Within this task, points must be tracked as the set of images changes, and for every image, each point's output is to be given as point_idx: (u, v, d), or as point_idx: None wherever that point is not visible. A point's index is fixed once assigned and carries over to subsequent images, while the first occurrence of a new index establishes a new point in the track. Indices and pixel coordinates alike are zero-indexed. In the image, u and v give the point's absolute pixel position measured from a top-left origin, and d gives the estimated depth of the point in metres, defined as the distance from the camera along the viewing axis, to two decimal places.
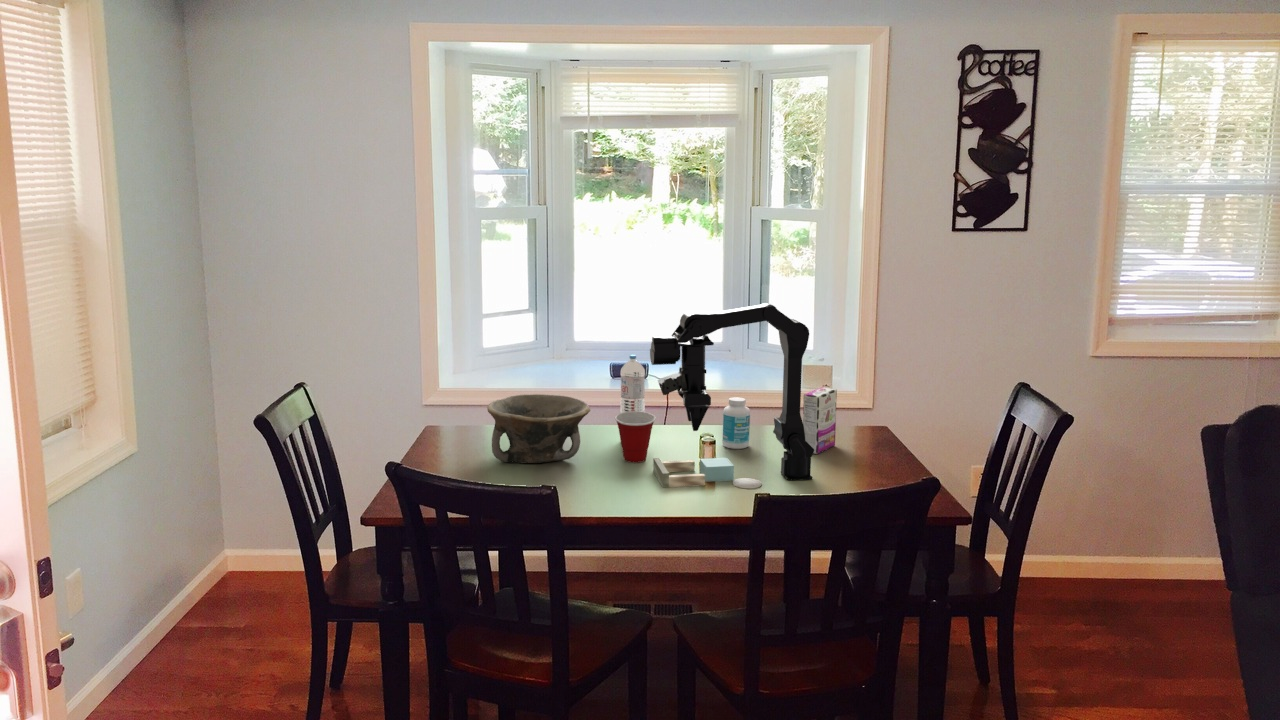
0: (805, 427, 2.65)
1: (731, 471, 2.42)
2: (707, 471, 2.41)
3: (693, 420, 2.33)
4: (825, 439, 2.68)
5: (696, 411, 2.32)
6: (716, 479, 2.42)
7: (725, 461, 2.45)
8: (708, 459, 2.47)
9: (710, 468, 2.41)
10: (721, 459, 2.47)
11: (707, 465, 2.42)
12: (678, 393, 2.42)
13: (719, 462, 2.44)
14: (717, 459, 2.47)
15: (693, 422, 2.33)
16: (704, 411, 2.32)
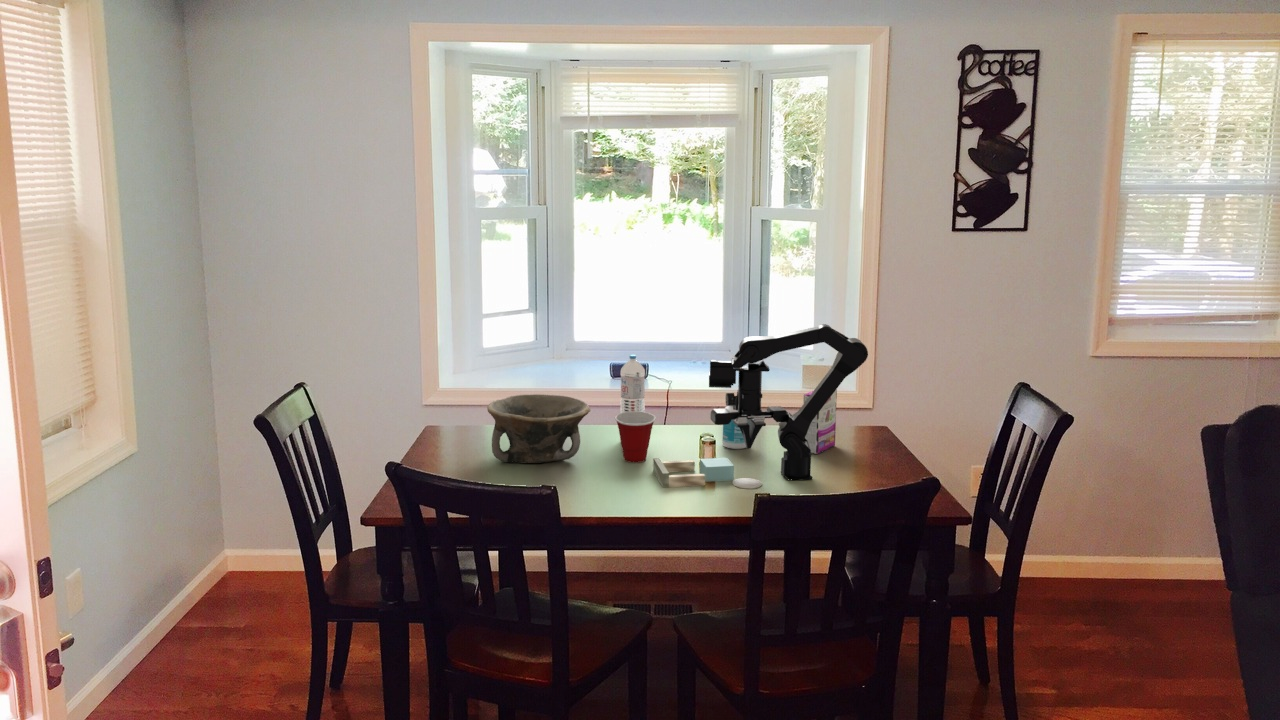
0: None
1: (731, 471, 2.42)
2: (707, 471, 2.41)
3: (743, 436, 2.45)
4: (825, 439, 2.68)
5: None
6: (716, 479, 2.42)
7: (725, 461, 2.45)
8: (708, 459, 2.47)
9: (710, 468, 2.41)
10: (721, 459, 2.47)
11: (707, 465, 2.42)
12: (749, 418, 2.47)
13: (719, 462, 2.44)
14: (717, 459, 2.47)
15: None
16: (743, 430, 2.42)
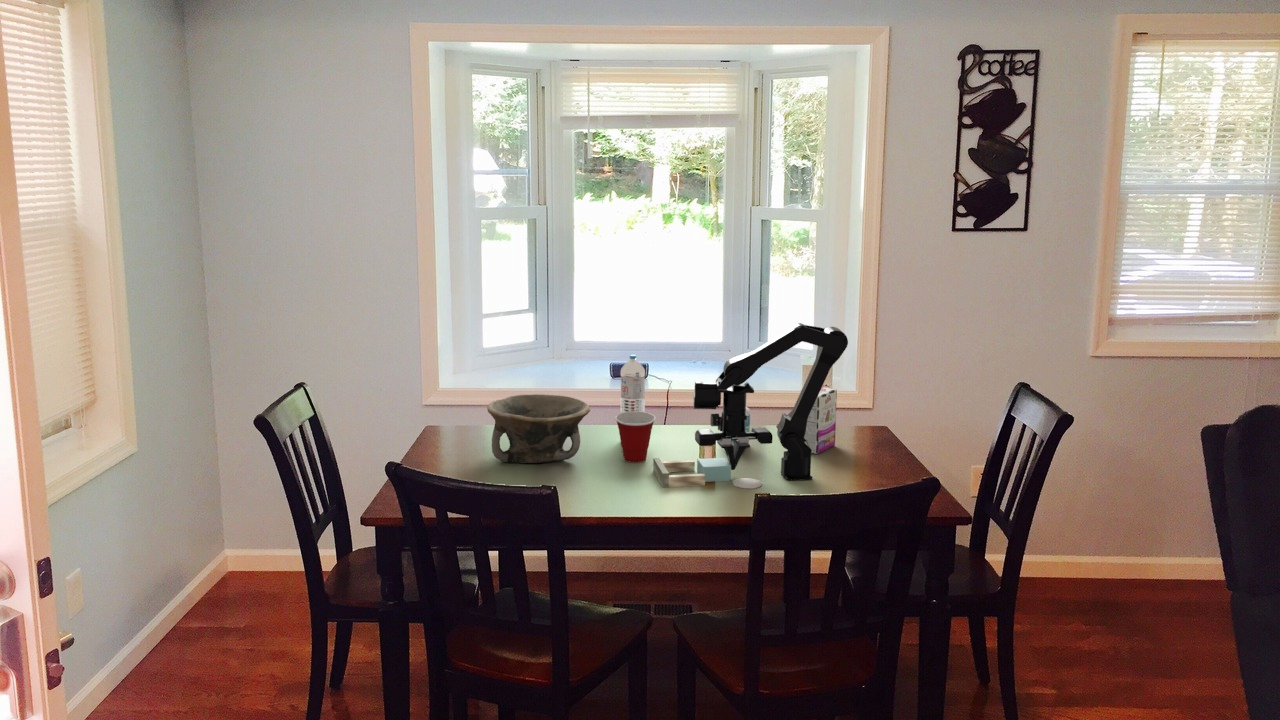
0: None
1: (728, 471, 2.42)
2: (704, 471, 2.41)
3: (727, 457, 2.46)
4: (825, 439, 2.68)
5: None
6: (713, 479, 2.42)
7: (722, 461, 2.45)
8: (705, 459, 2.47)
9: (707, 468, 2.41)
10: (718, 459, 2.47)
11: (704, 465, 2.42)
12: (734, 439, 2.47)
13: (717, 463, 2.44)
14: (714, 459, 2.47)
15: (728, 460, 2.46)
16: None
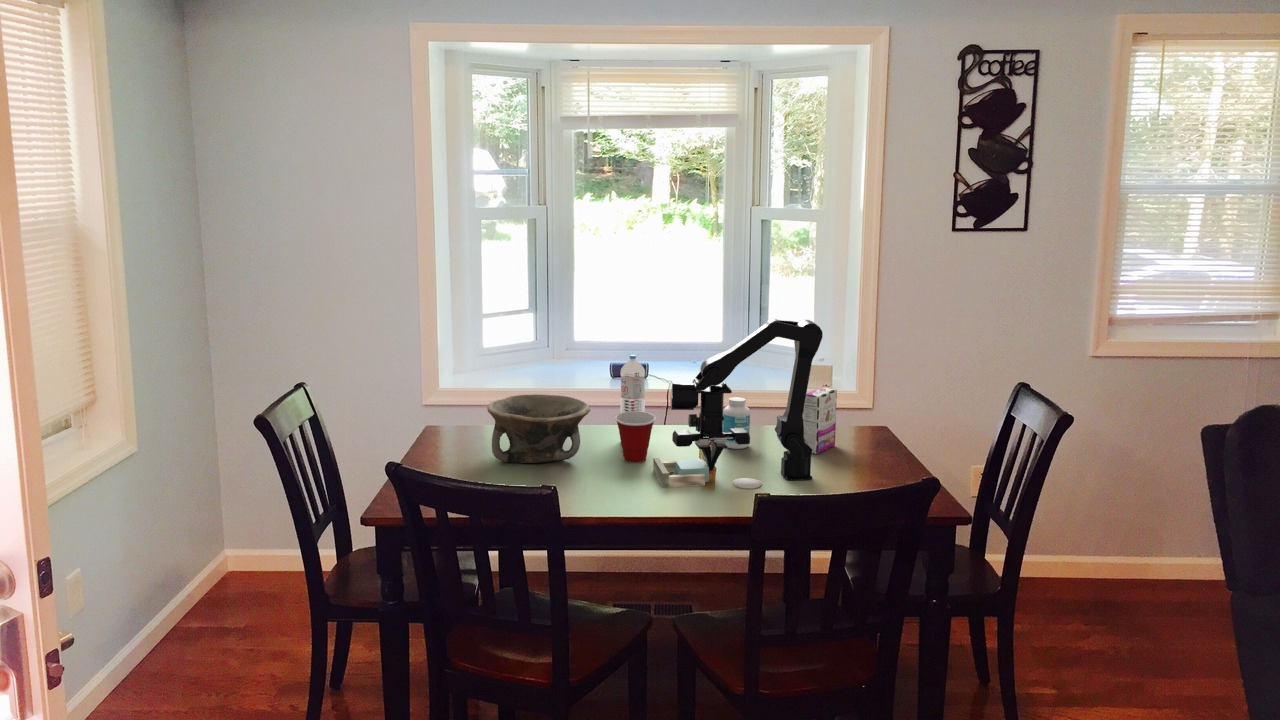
0: (805, 427, 2.65)
1: (706, 473, 2.41)
2: (682, 473, 2.40)
3: (705, 458, 2.45)
4: (825, 439, 2.68)
5: None
6: None
7: (700, 463, 2.44)
8: (683, 461, 2.46)
9: (685, 470, 2.40)
10: (697, 461, 2.46)
11: (682, 467, 2.41)
12: (712, 440, 2.46)
13: (695, 465, 2.43)
14: (693, 461, 2.46)
15: None
16: (704, 452, 2.42)
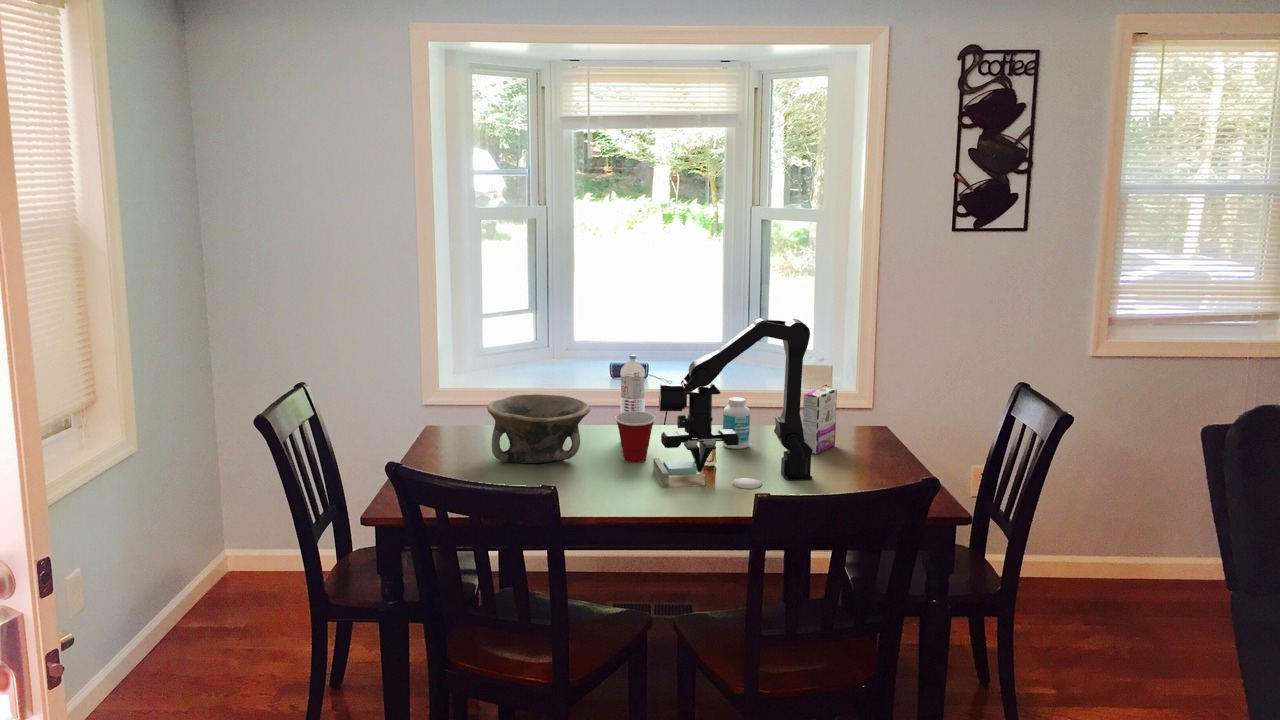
0: (805, 427, 2.65)
1: (694, 473, 2.40)
2: (670, 473, 2.39)
3: (694, 459, 2.44)
4: (825, 439, 2.68)
5: None
6: None
7: (688, 463, 2.43)
8: (672, 461, 2.45)
9: (673, 470, 2.39)
10: (685, 461, 2.45)
11: (670, 467, 2.40)
12: (701, 441, 2.46)
13: (682, 464, 2.42)
14: (681, 461, 2.45)
15: None
16: None
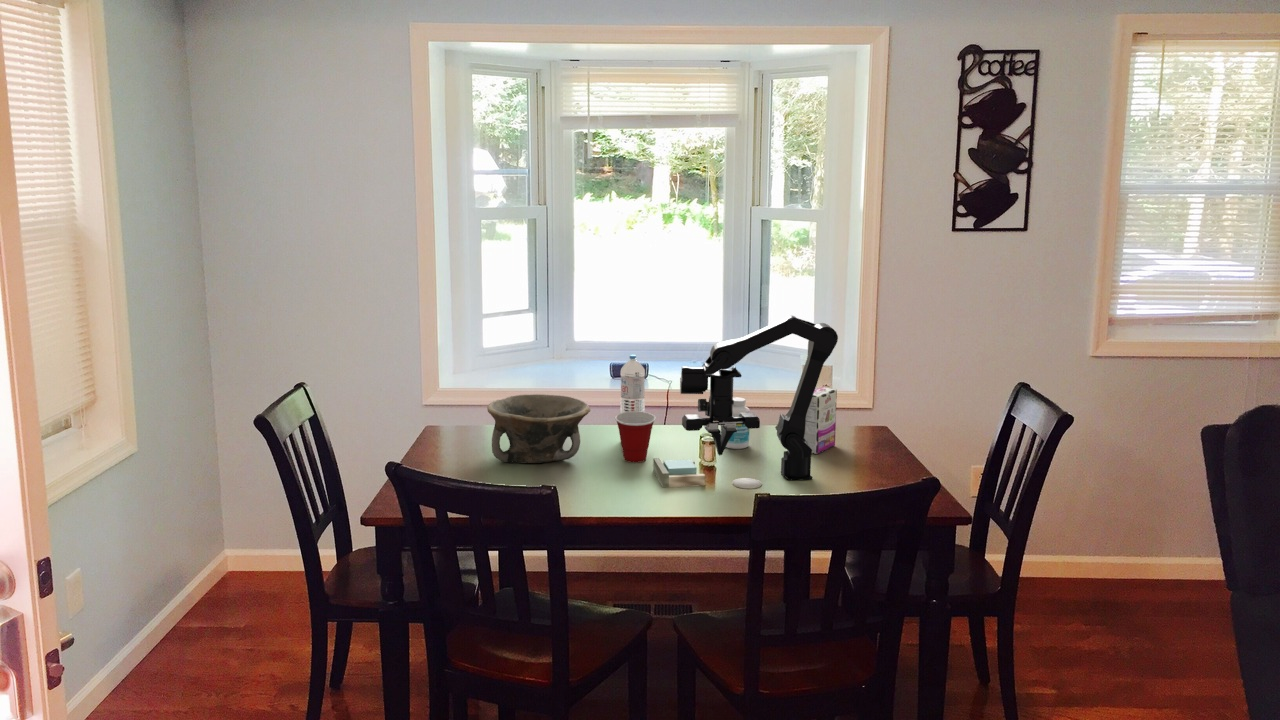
0: (805, 427, 2.65)
1: (694, 473, 2.40)
2: (669, 473, 2.39)
3: (714, 442, 2.44)
4: (825, 439, 2.68)
5: None
6: None
7: (688, 463, 2.43)
8: (672, 461, 2.45)
9: (672, 470, 2.39)
10: (685, 461, 2.45)
11: (669, 467, 2.40)
12: (721, 424, 2.46)
13: (682, 464, 2.42)
14: (681, 461, 2.45)
15: (715, 445, 2.44)
16: None
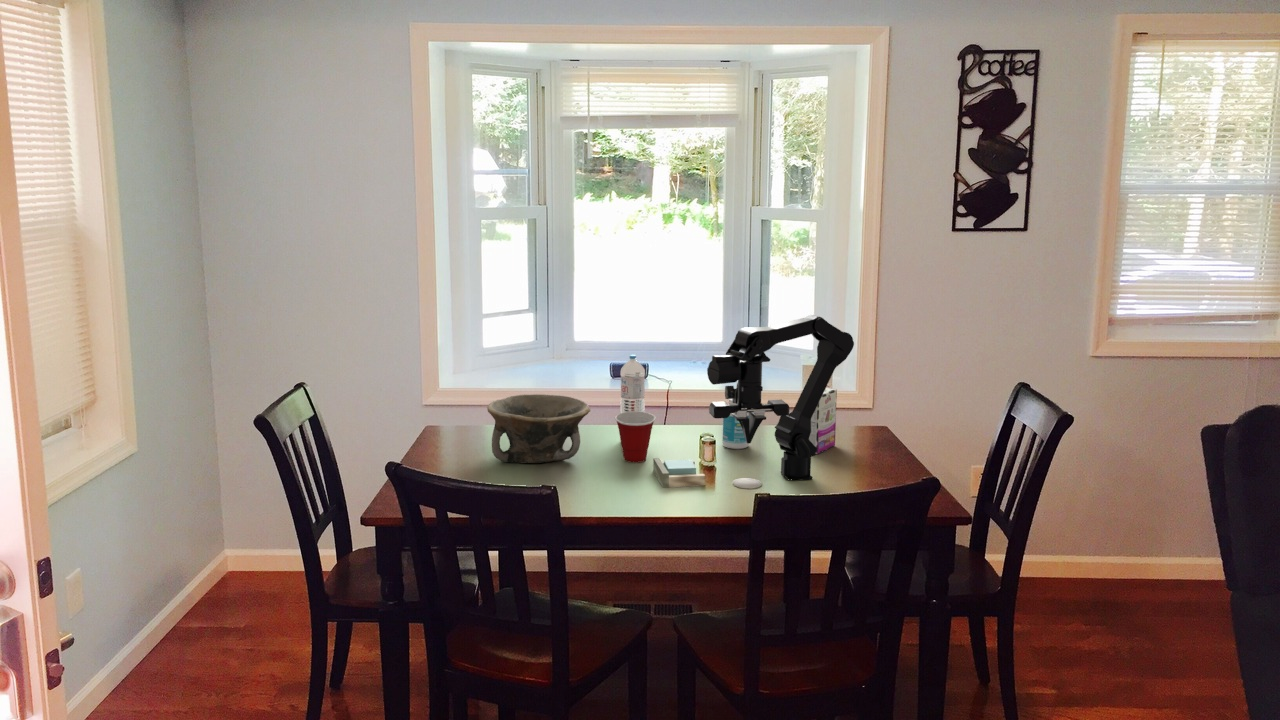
0: None
1: (693, 473, 2.40)
2: (669, 473, 2.39)
3: (743, 430, 2.37)
4: (825, 439, 2.68)
5: None
6: None
7: (688, 463, 2.43)
8: (672, 461, 2.45)
9: (672, 470, 2.39)
10: (685, 461, 2.45)
11: (669, 467, 2.40)
12: (749, 412, 2.39)
13: (682, 464, 2.42)
14: (681, 461, 2.45)
15: None
16: (743, 424, 2.34)
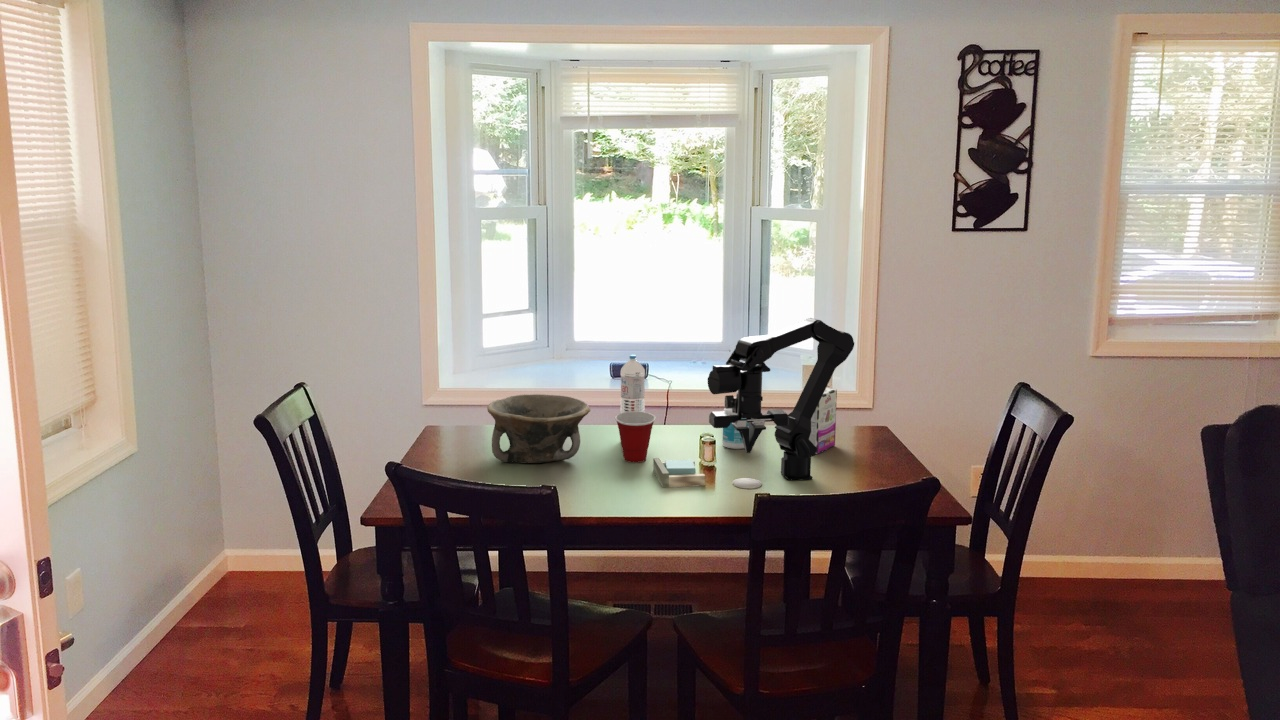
0: None
1: (692, 473, 2.40)
2: None
3: (742, 440, 2.38)
4: (825, 439, 2.68)
5: None
6: None
7: (688, 463, 2.43)
8: (673, 460, 2.45)
9: (671, 469, 2.39)
10: (686, 461, 2.45)
11: (668, 466, 2.40)
12: (749, 421, 2.40)
13: (682, 464, 2.42)
14: (682, 461, 2.45)
15: (743, 443, 2.38)
16: (742, 434, 2.35)
